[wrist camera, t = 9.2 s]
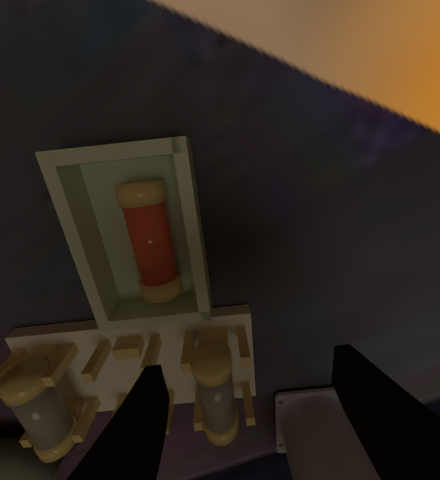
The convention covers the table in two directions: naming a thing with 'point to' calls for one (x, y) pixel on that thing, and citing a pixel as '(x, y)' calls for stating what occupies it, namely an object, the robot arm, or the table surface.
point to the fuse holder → (132, 362)
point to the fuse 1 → (39, 409)
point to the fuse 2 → (215, 390)
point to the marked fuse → (150, 238)
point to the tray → (115, 230)
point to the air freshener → (24, 462)
